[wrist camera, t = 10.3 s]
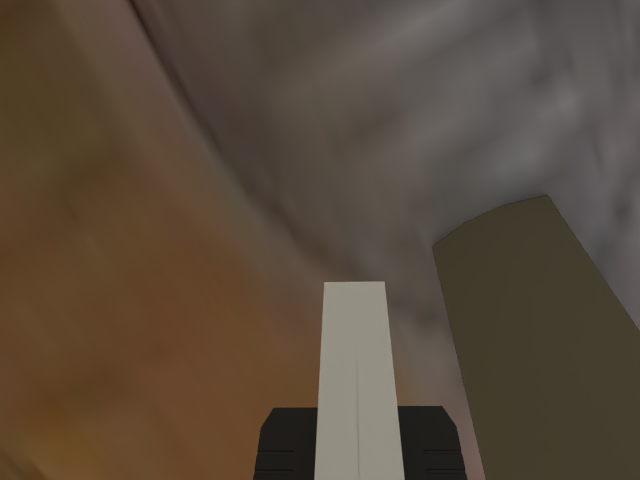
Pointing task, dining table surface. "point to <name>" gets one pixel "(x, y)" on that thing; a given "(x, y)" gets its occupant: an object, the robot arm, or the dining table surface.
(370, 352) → the robot arm
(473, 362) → the olive curved-top slab
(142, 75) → the dining table surface
